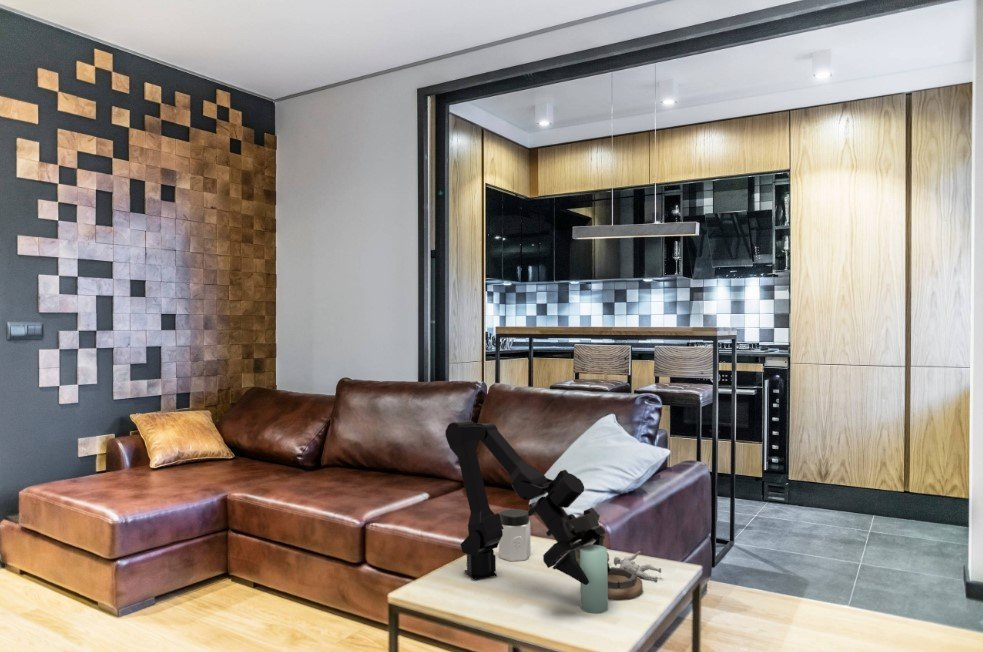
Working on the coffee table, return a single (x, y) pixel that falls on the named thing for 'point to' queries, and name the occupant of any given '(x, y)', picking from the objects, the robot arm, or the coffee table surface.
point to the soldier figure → (636, 566)
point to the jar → (515, 535)
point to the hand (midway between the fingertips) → (598, 577)
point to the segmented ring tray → (623, 584)
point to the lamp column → (594, 578)
